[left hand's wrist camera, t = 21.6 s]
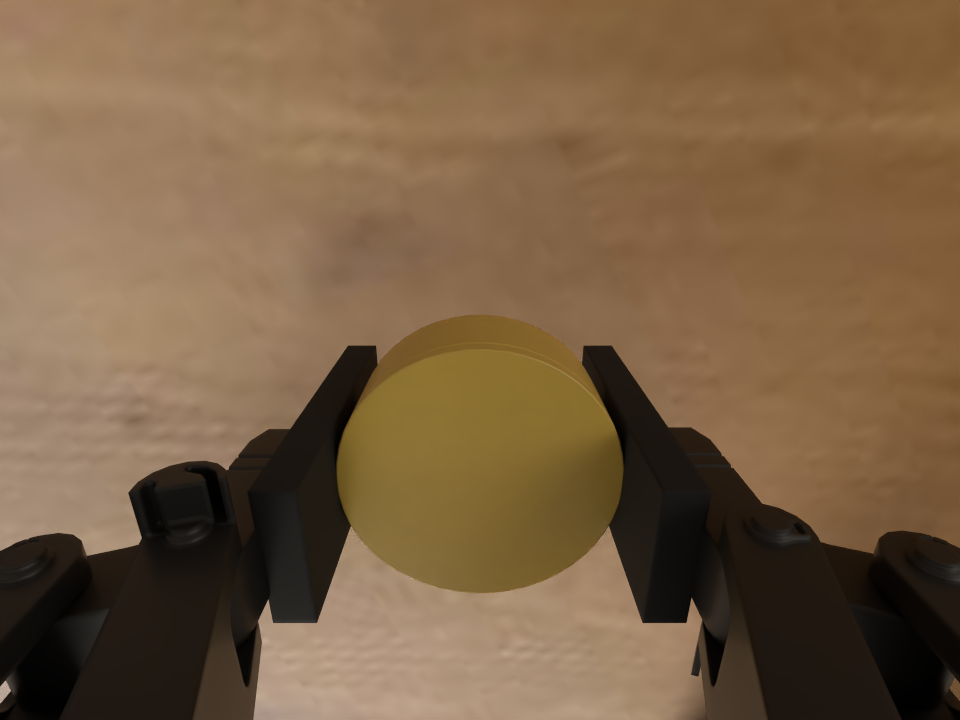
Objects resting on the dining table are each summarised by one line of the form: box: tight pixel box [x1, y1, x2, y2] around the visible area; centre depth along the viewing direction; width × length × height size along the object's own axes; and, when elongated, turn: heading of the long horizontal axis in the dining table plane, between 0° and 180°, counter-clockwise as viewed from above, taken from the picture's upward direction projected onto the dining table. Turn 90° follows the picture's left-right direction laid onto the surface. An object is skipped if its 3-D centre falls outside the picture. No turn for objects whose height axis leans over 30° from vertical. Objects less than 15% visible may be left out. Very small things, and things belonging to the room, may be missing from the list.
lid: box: [336, 315, 624, 593], centre depth 11 cm, size 6×6×2 cm
